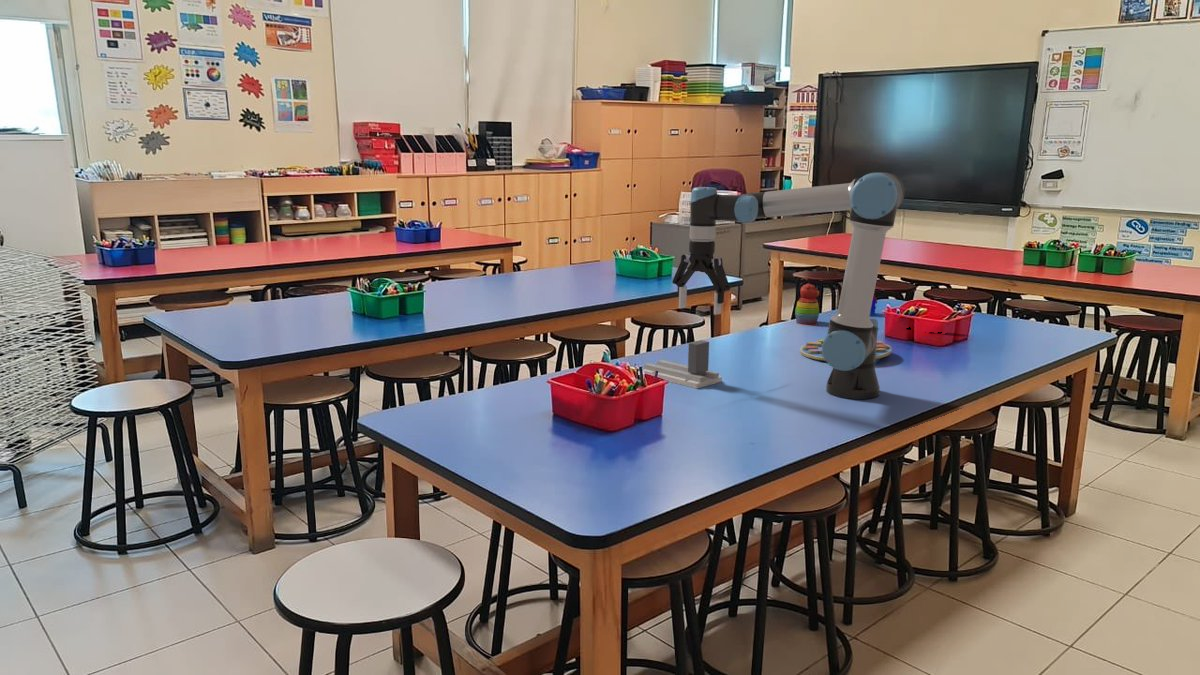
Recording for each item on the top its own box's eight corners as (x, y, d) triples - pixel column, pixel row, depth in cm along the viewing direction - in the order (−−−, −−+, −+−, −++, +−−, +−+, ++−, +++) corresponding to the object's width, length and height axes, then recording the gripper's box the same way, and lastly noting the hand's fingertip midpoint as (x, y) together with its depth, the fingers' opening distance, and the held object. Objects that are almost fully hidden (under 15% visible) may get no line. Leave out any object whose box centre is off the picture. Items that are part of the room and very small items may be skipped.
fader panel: (721, 381, 267) (722, 372, 266) (696, 388, 258) (696, 378, 258) (665, 368, 283) (665, 359, 282) (640, 374, 274) (640, 365, 274)
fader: (708, 375, 266) (709, 341, 264) (695, 379, 262) (696, 344, 260) (700, 373, 268) (701, 340, 266) (687, 377, 264) (688, 343, 262)
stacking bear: (818, 331, 344) (821, 286, 340) (792, 329, 347) (794, 285, 344) (821, 326, 354) (824, 283, 350) (796, 324, 357) (798, 281, 354)
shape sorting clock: (799, 345, 319) (799, 329, 318) (885, 350, 313) (886, 333, 312) (800, 365, 290) (801, 347, 289) (896, 370, 284) (897, 352, 283)
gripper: (744, 242, 251) (740, 315, 255) (678, 236, 268) (676, 304, 272) (728, 244, 245) (724, 318, 250) (662, 237, 263) (660, 306, 267)
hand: (699, 311), depth 261 cm, fingers open, 13 cm apart
